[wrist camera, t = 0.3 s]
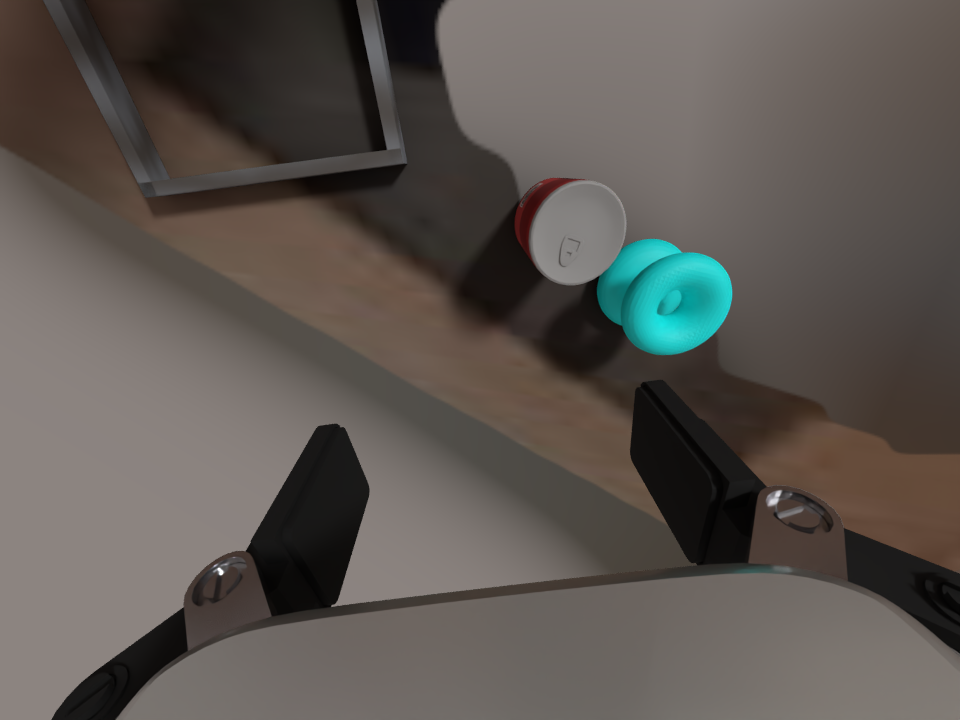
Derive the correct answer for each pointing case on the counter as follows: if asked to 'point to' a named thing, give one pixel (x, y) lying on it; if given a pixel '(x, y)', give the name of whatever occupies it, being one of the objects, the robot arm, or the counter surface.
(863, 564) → the robot arm
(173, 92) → the counter surface
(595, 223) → the canned food
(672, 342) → the donuts
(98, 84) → the corral
